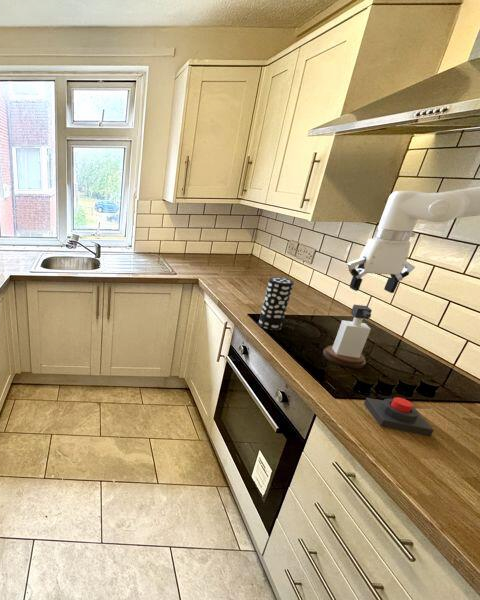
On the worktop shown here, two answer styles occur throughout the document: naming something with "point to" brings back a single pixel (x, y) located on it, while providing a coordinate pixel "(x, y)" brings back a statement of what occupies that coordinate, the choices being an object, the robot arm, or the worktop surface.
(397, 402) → the button
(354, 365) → the base
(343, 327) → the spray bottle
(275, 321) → the spotted tube
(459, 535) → the worktop surface
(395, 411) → the grey stepped base
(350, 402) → the worktop surface
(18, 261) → the worktop surface
